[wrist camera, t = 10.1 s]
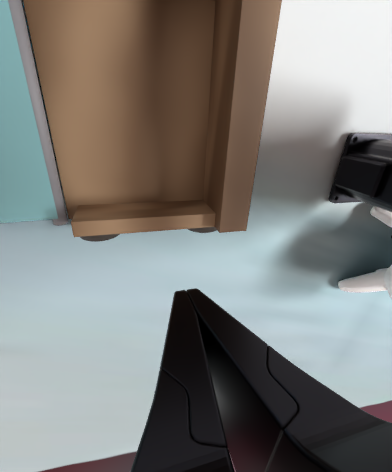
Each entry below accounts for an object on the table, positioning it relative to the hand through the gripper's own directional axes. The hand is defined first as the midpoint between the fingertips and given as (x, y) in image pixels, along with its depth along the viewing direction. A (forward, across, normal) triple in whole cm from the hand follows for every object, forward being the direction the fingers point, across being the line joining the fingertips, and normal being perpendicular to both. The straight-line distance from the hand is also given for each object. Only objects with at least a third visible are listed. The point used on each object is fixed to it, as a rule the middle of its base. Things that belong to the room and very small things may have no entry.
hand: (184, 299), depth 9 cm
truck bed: (+12, 0, -6) cm, 14 cm away
